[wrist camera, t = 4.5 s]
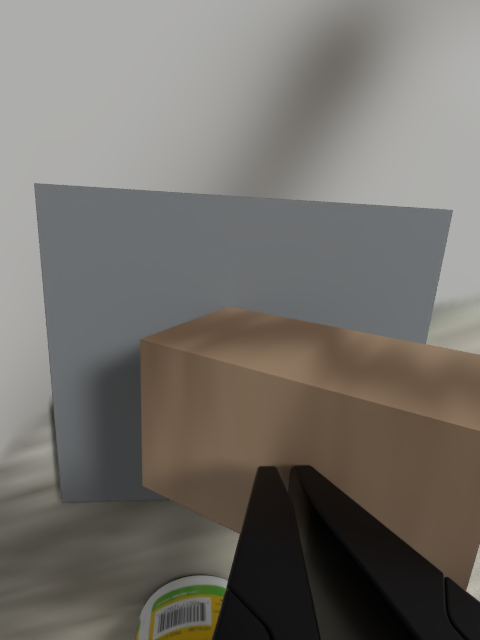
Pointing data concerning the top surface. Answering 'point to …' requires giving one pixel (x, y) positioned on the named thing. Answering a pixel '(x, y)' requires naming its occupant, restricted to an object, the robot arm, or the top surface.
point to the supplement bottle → (183, 609)
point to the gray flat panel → (204, 295)
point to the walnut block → (316, 423)
